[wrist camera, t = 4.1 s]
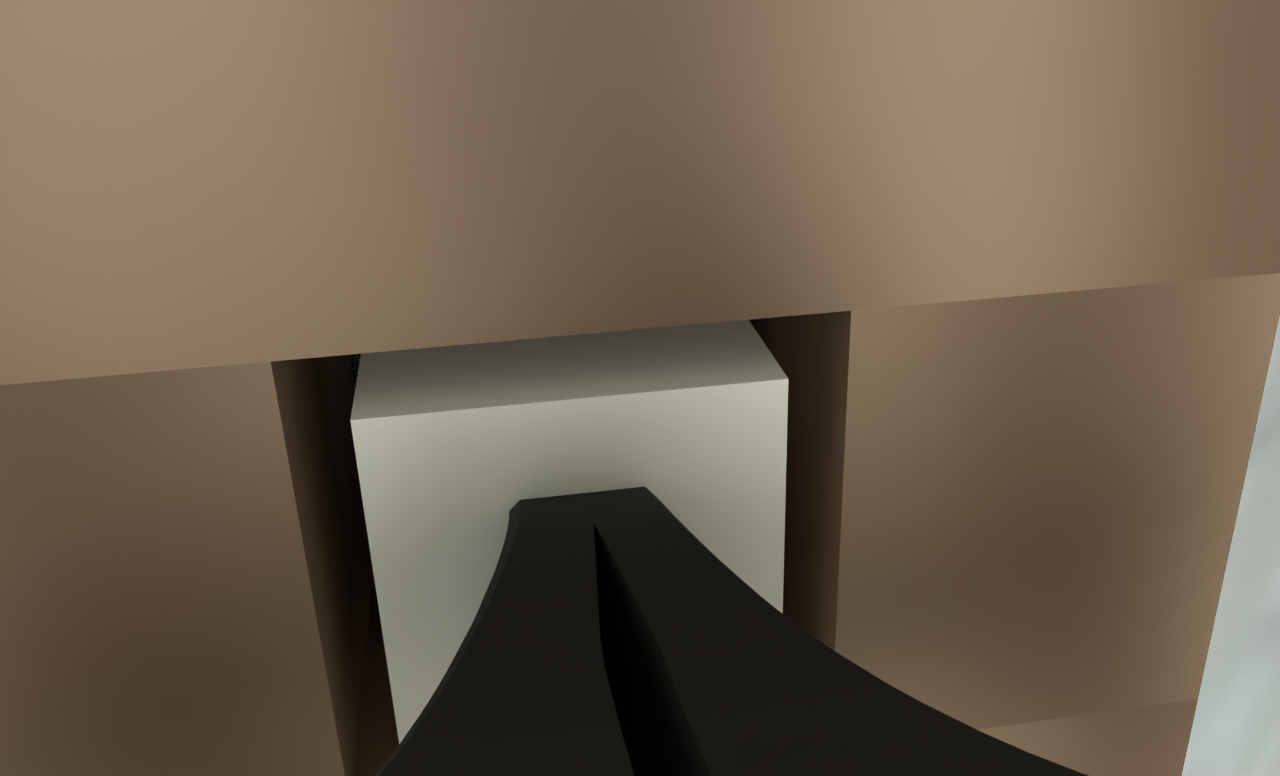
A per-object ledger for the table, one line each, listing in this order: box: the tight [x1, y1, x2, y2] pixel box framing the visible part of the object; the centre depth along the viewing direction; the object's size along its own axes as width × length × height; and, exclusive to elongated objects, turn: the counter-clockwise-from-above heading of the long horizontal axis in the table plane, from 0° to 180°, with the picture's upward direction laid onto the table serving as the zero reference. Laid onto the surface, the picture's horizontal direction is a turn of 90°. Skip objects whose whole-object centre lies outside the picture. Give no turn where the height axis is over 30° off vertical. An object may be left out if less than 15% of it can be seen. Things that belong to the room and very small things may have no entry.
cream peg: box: [350, 320, 788, 744], centre depth 14 cm, size 4×4×5 cm
